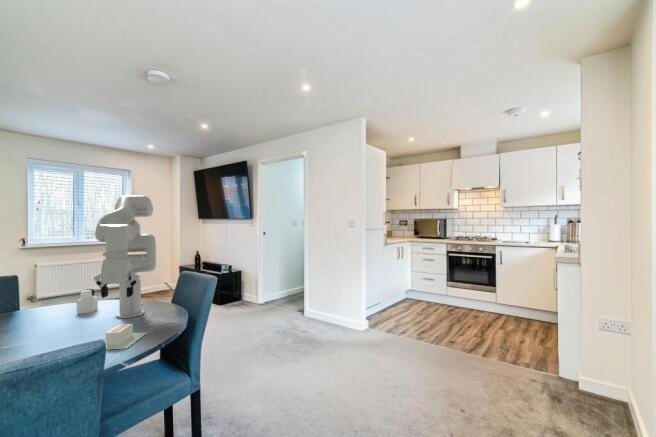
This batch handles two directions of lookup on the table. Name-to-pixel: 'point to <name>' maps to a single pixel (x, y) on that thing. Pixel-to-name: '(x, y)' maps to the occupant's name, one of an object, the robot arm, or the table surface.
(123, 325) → the cream rectangular box
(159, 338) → the table surface
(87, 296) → the medicine bottle
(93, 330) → the table surface
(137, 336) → the mat
